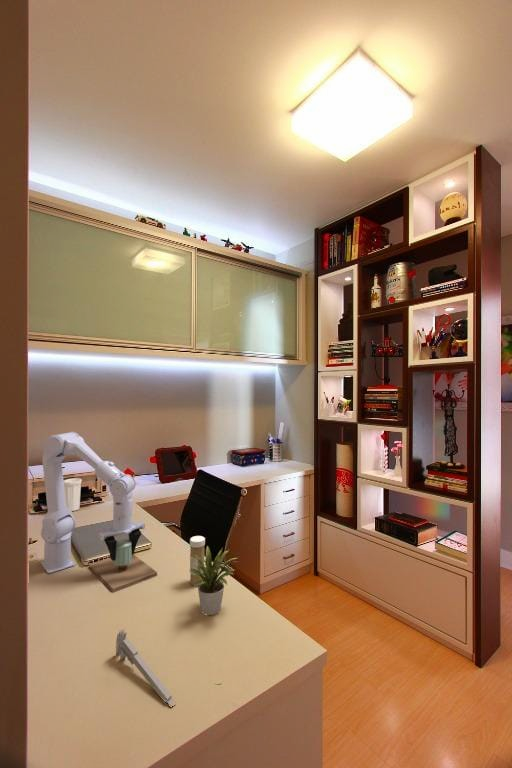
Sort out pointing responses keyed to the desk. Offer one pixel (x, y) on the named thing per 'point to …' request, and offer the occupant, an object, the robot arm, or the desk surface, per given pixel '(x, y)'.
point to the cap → (123, 552)
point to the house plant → (211, 581)
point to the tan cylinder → (122, 567)
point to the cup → (72, 493)
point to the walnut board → (122, 573)
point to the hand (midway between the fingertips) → (122, 556)
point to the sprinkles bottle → (197, 549)
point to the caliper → (140, 665)
